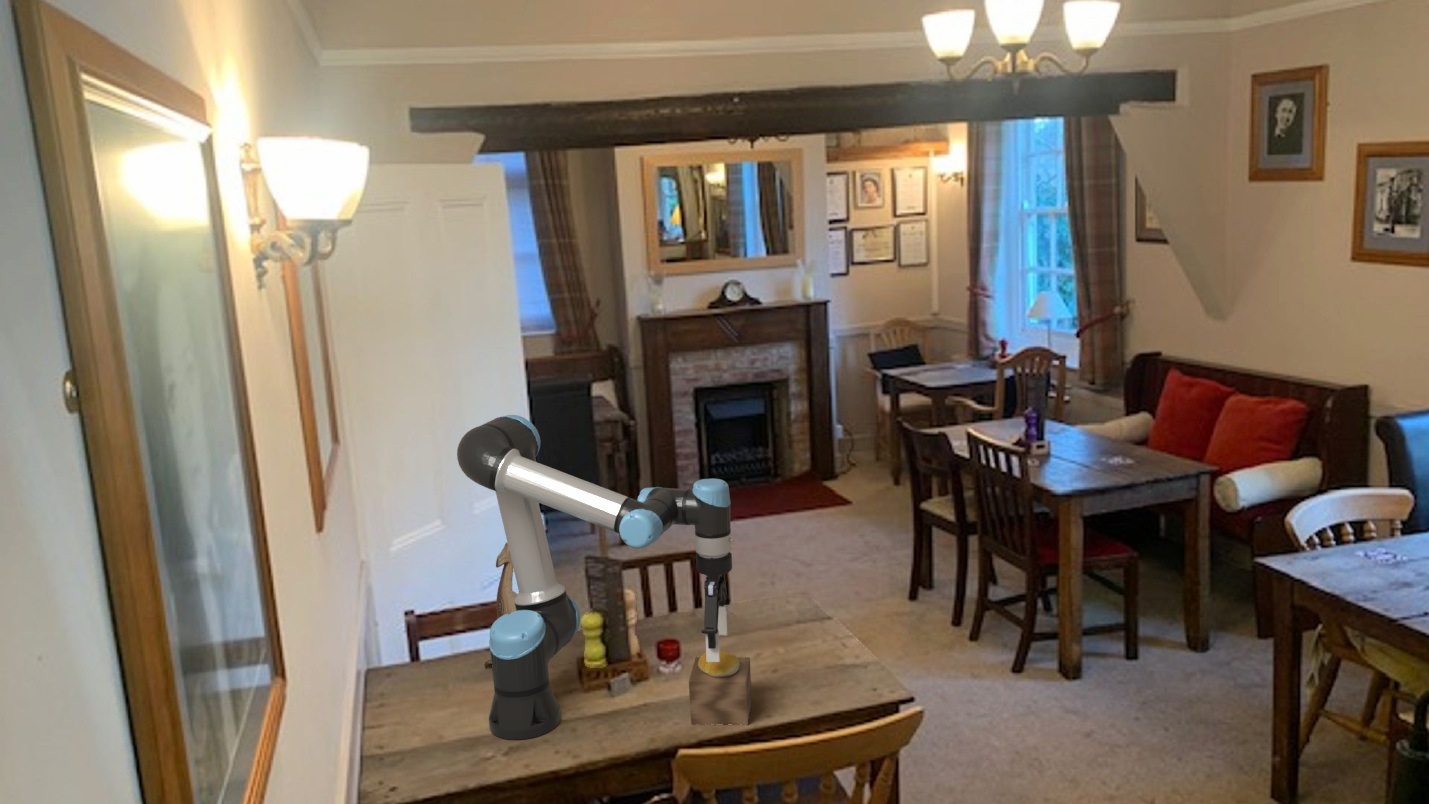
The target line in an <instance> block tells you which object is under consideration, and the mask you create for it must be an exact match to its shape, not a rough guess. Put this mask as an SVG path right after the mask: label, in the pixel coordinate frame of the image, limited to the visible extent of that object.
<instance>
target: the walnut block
mask: <svg viewBox="0 0 1429 804" xmlns="http://www.w3.org/2000/svg"><path fill="white" fill-rule="evenodd" d="M700 657H701V656H700ZM700 657H695V659H694V662H693V665H692V669H691V673H690V676H689V680H688V690H689V691H688V693H689V695H688V696H689V706H690V707H689V708H690V709H689V710H690V725H691V724H692V725H691V726H697V725H696V724H699V725H698V726H712V725H711V724H714V725H713V726H717V725H716V724H723V725H722V726H729V725H728V724H732V725H731V726H744V725H748V726H749V721H748V719H749V720H750V714H751V713H750V712H751V705H752V697H753V696H752V677H751V675H752V673H751V657H749V656H747V657H743V656H742V657H741V656H739V657H738V656H737V658H738V660H739V662H740V667H739V669H738V671H737V672H736V673H735V674H733V675H730V676H727V677H712V676H710V675H709V674H707V673H704V672H703V671H701V670H700V668H699V666H698V661H699V658H700ZM749 713H750V714H749ZM705 724H706V725H705ZM740 724H742V725H740Z"/></svg>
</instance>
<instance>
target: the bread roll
mask: <svg viewBox="0 0 1429 804" xmlns="http://www.w3.org/2000/svg"><path fill="white" fill-rule="evenodd" d="M719 651H720V662H706V651H704V653H703V654H702V655H701V656H700V658H699V661H698V666H699V668H700V670H701V671H703V672H704V673H707V674H709V675H710V676H712V677H727V676H730V675H733V674H735V673H736V672H737V671H738V669H739V667H740V662H739V660H738V658H737V657H738V656H737V655H736V654H732V653H729V652H727V651H726V650H724V649H723V648H722V649H721V648H719Z"/></svg>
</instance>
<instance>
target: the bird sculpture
mask: <svg viewBox="0 0 1429 804" xmlns="http://www.w3.org/2000/svg"><path fill="white" fill-rule="evenodd" d="M502 566H503V567H502ZM495 567H496V568H500V567H502V571H501V575H500V579H499V582H498V587H497V594H496V601H495V602H496V603H495V604H496V618H497V619H498V618H500V617H501V616H503V615H505V614H510V613H511V612H514V611H516V607H515V603H514V599H515V598H516V596H517V594H518V593H517V592H516V591H514V590H513V576H514V575H513V574H514V568H513V564H512V560H511V555H510V551H509V547H508V543H507V542H505V544H504V546H503V547H502V550H501V552H500V553H499V554H498V555H497V558H496V561H495ZM497 619H496V620H497ZM489 667H492V661H491V659H490V660H487V661H485V662H484V669H487V668H489Z"/></svg>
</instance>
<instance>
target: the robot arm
mask: <svg viewBox="0 0 1429 804" xmlns="http://www.w3.org/2000/svg"><path fill="white" fill-rule="evenodd" d="M540 449H541V437H540V433H539V430H538V429H537V428H536V426H535V425H534V424H533V422H532V421H530V420H529V419H527V418H525V417H523V416H521V415H519V414H518V415H517V414H507V415H503V416H500V417H498V416H497V417H495V418H494V419H491V420H489V421H487V422H486V423H483V424H480V425H479V426H475V427H474V428H472V429H470V430H468V431H467V432H466V433H465V434H464V435H463V436H462V438H461V439H460V441H459V443H458V445H457V452H456V456H457V457H456V458H457V463H458V465H459V468H460V469H461V471H462V472H463V474H464V475H465V477H467V478H469V479H470V480H471V481H473V482H474V483H476V484H477V485H480V487H481V486H482V487H484V488H486V489H488V490H490V491H493V492H495V495H496V498H497V504H498V508H499V512H500V517H501V520H502V525H503V528H504V529H503V530H504V533H505V538H506V543H508V547H509V551H510V555H511V560H512V564H513V573H514V575H515V580H516V586H517V588H518V593H517V596H516V598H515V599H514V603H515V607H516V611H514V612H511V613H510V614H505V615H503V616H501V617H500V618H498V619H496V620H495V621H493V623H492V625H491V626H490V630H489V641H488V644H489V645H488V646H489V649H490V660H491V661H492V666H491V669H492V677H493V680H492V681H493V689H494V690H493V692H494V695H493V698H492V703H491V706H490V710H489V714H488V726H489V727H488V728H489V731H490V732H491V733H492V734H493V736H495V737H498V738H501V739H505V740H512V741H513V740H515V741H516V740H526V739H532V738H537V737H540V736H542V735H543V736H544V735H545V734H547V733H549V732H550V731H553V730H554V729H555V728H557V726H559V723H560V722H561V710H560V706H559V703H558V701H557V699H556V696H555V694H554V692H553V690H552V687H551V686H550V685H551V684H550V678H549V677H550V676H549V664H548V663H549V661H550V660H551V659H552V658H553V657H554V656H555V655H556V654H557V653H558V652H559V651H561V650H562V648H563V647H566V646H567V645H568V644H569V643H570V642H571V641H572V639H573V638H574V637H575V635H576V633H577V632H578V630H579V628H580V624H581V613H580V608H579V607H578V603H577V601H575V599H574V598H571V596H570V594H568V593H567V591H566V588H565V586H564V585H563V584H560V582H558V581H557V578H556V572H555V568H554V564H553V559H552V556H551V551H550V548H549V547H550V546H549V543H548V542H549V541H548V538H547V534H546V533H547V532H546V529H545V526H544V525H545V524H544V520H543V516H542V513H541V508H540V507H541V506H540V504H541V505H545V506H547V507H550V508H552V509H555V510H557V511H560V512H562V513H565V514H568V515H571V516H573V517H575V518H578V519H581V520H583V521H586V522H588V523H591V524H594V525H595V526H599V527H602V528H603V529H606V530H608V531H611V532H615V533H617V534H619V536H620V538H621V540H622V541H623V542H624V543H625V544H626V545H627V546H628V547H630V548H633V549H638V550H639V549H645V548H647V547H649V546H651V544H655V543H656V542H657V541H658V540H659V539H660V537H661V536H662V535H663V534H664V533H666V531H668V530H669V529H670V528H671V527H672V526H674V525H680V526H694V541H695V542H694V543H695V545H694V547H695V553H696V555H695V561H696V562H695V564H696V567H695V568H696V571H697V573H699V574H700V575H704V576H706V577H705V581H704V584H703V585H704V587H703V589H704V615H703V617H704V618H703V619H704V620H703V621H704V622H703V629H701V634H704V635H705V652H706V662H720V651H719V649H720V636H728V617H727V616H728V615H727V613H728V611H727V606H729V605H730V601H731V600H730V599H728V593H727V584H726V574H728V573H730V572H731V571H732V570H733V556H732V555H733V554H732V553H731V551H732V543H733V542H734V541H735V538H734V537H732V536H731V535H732V533H731V532H732V529H731V503H732V502H731V498H730V497H731V496H730V488H729V484H728V483H727V482H726V481H725V480H723V479H720V478H702V479H698V480H696V481H695V482H694V483H693V485H692V486H693V487H692V488H691V489H687V488H672V487H671V488H670V487H669V488H668V487H662V486H661V487H660V486H656V487H645V488H643V489H642V490H640V492H639V495H638V496H637V499H634V498H631V497H629V496H626V495H624V494H621V493H619V492H616V491H613V490H611V489H608V488H606V487H602V486H600V485H597V484H595V483H593V482H590V481H587V480H584V479H581V478H579V477H576V476H574V475H571V474H568V473H566V472H563V471H561V470H559V469H556V468H552V467H551V466H547V465H545V464H542V463H539V462H537V456H538V454H539V451H540Z"/></svg>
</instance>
